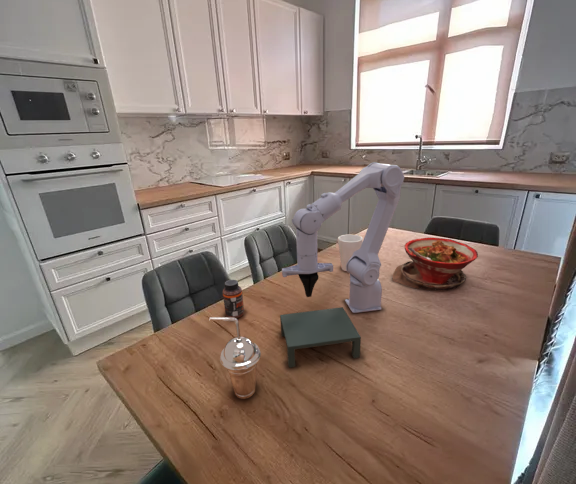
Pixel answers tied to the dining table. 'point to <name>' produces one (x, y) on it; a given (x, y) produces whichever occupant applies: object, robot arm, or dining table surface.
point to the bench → (318, 330)
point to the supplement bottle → (233, 299)
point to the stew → (434, 263)
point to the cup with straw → (240, 361)
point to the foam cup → (348, 247)
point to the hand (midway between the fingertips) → (308, 295)
